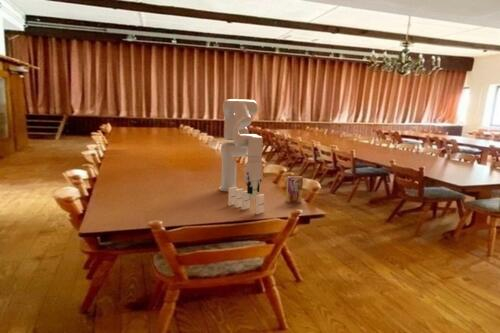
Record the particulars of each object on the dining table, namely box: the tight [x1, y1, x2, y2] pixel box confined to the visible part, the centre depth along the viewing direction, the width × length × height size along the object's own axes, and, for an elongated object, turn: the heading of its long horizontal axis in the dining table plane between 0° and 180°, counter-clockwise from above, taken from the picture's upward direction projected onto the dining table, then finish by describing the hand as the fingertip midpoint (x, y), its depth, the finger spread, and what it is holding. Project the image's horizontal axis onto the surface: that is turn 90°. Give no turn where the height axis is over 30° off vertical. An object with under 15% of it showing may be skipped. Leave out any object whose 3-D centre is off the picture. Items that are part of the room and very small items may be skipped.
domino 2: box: [234, 187, 244, 209], centre depth 193 cm, size 2×5×10 cm, turn 139°
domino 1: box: [227, 186, 237, 207], centre depth 196 cm, size 2×5×10 cm, turn 140°
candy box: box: [285, 175, 304, 203], centre depth 207 cm, size 9×4×15 cm, turn 96°
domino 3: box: [240, 190, 251, 211], centre depth 190 cm, size 2×5×10 cm, turn 140°
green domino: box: [249, 180, 258, 201], centre depth 185 cm, size 2×5×10 cm, turn 139°
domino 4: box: [255, 193, 265, 215], centre depth 183 cm, size 2×5×10 cm, turn 139°
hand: (253, 192), depth 185 cm, fingers closed on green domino, 4 cm apart
